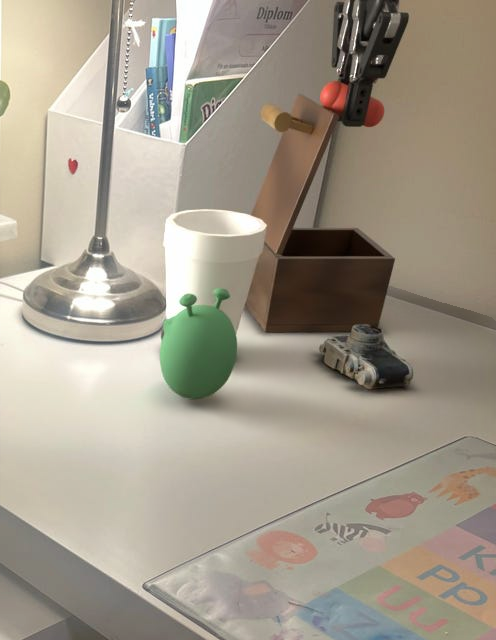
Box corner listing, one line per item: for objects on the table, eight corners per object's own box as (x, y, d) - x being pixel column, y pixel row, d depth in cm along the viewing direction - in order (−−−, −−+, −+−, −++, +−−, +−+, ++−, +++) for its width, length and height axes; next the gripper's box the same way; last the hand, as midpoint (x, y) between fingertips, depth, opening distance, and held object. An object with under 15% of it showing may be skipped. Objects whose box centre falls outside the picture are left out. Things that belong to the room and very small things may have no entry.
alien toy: (189, 373, 97) (202, 270, 91) (245, 400, 92) (263, 294, 86) (135, 389, 94) (145, 283, 87) (190, 418, 89) (205, 308, 83)
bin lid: (304, 95, 103) (261, 81, 102) (340, 115, 94) (294, 101, 92) (253, 224, 110) (213, 213, 109) (281, 255, 101) (238, 243, 100)
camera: (365, 395, 93) (375, 352, 91) (312, 355, 101) (320, 315, 99) (411, 390, 94) (423, 348, 92) (356, 351, 102) (365, 311, 100)
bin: (342, 296, 116) (357, 227, 111) (377, 331, 107) (395, 258, 102) (238, 296, 115) (249, 227, 111) (264, 332, 106) (277, 258, 101)
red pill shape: (370, 128, 100) (384, 102, 99) (378, 133, 98) (393, 107, 97) (312, 101, 98) (325, 74, 97) (320, 106, 96) (333, 79, 95)
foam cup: (233, 378, 96) (255, 241, 88) (142, 363, 99) (156, 228, 91) (251, 345, 103) (273, 215, 95) (166, 332, 106) (181, 205, 98)
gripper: (465, -89, 83) (409, 137, 93) (401, -90, 94) (358, 112, 104) (379, -92, 82) (333, 135, 93) (325, -93, 93) (289, 110, 104)
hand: (346, 122), depth 98 cm, fingers closed on red pill shape, 2 cm apart
